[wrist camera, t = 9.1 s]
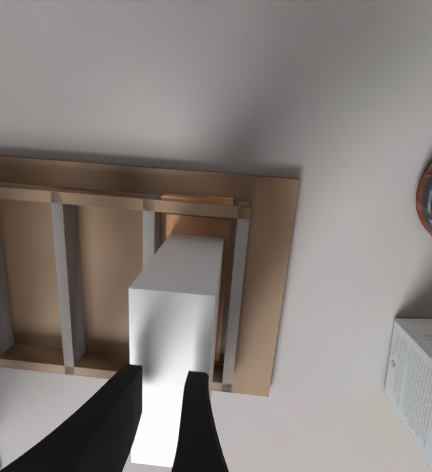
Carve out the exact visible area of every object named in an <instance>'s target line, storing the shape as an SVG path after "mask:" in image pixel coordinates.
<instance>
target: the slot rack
mask: <svg viewBox="0 0 432 472" xmlns="http://www.w3.org/2000/svg"><path fill="white" fill-rule="evenodd" d="M299 185H300V180H299V179H293V178H281V177H268V176H255V175H242V174H229V173H216V172H204V171H191V170H178V169H165V168H152V167H139V166H126V165H114V164H101V163H88V162H75V161H62V160H49V159H37V158H24V157H11V156H0V367H5V368H14V369H23V370H32V371H41V372H50V373H59V374H68V375H77V376H86V377H95V378H104V379H110V378H111V377H112V376H113V375H114V374H115V373H116V372H117V371H118V370H119V369H120V368H121V367H122V366H123V365H125V364H130V349H129V287H130V286H131V284H132V283H133V282H134V280H135V279H136V278H137V277H138V275H139V274H140V273H141V271H142V270H143V269H144V268H145V266H146V265H147V264H148V262H149V261H150V260H151V258H152V257H153V256H154V255H155V253H156V252H157V251H158V249H159V248H160V247H161V246H162V244H163V243H164V242H165V240H166V239H167V238H168V237H169V235H170V234H171V233H172V234H184V235H196V236H208V237H220V238H224V246H223V259H222V272H221V285H220V298H219V312H218V325H217V338H216V351H215V363H214V372H213V381H212V390H213V391H222V392H231V393H240V394H249V395H258V396H267V397H268V396H269V389H270V383H271V376H272V369H273V362H274V355H275V348H276V342H277V335H278V328H279V321H280V314H281V308H282V301H283V294H284V287H285V280H286V273H287V267H288V260H289V253H290V246H291V239H292V232H293V226H294V219H295V212H296V205H297V198H298V191H299Z"/></svg>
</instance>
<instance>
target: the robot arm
mask: <svg viewBox="0 0 432 472" xmlns="http://www.w3.org/2000/svg"><path fill="white" fill-rule="evenodd" d="M141 415H142V366H141V365H132V364H125V365H123V366H122V367H121V368H120V369H119V370H118V371H117V372H116V373H115V374H114V375H113V376H112V377H111V378H110V379H109V380H108V381H107V382H106V383H105V384H104V385H103V386H102V387H101V388H100V389H99V390H98V391H97V392H96V393H95V394H94V395H93V396H92V397H91V398H90V399H89V400H88V401H87V402H86V403H85V404H83V405H82V406H81V407H80V408H79V409H78V410H77V411H76V412H75V413H74V414H72V415H71V416H70V417H69V418H68V419H67V420H65V421H64V422H63V423H62V424H61V425H60V426H58V427H57V428H56V429H55V430H54V431H53V432H51V433H50V434H49V435H48V436H46V437H45V438H44V439H43V440H41V441H40V442H39V443H38V444H36V445H35V446H34V447H32V448H31V449H30V450H28V451H27V452H26V453H24V454H23V455H22V456H20V457H19V458H18V459H16V460H15V461H13V462H12V463H10V464H9V465H8V466H6V467H5V468H3V469H2V470H0V472H122V471H123V468H124V466H125V463H126V460H127V458H128V455H129V453H130V450H131V448H132V445H133V443H134V439H135V436H136V432H137V429H138V425H139V422H140V418H141ZM171 472H229V471H228V468H227V465H226V462H225V459H224V456H223V453H222V449H221V446H220V442H219V439H218V435H217V431H216V427H215V423H214V418H213V414H212V409H211V403H210V396H209V375H208V374H207V373H206V372H197V371H189V372H188V375H187V378H186V382H185V385H184V392H183V401H182V410H181V418H180V427H179V436H178V443H177V449H176V454H175V458H174V463H173V467H172V471H171Z"/></svg>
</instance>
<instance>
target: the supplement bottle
mask: <svg viewBox="0 0 432 472" xmlns="http://www.w3.org/2000/svg"><path fill="white" fill-rule="evenodd" d="M416 210H417V213H418V215H419V219H420V221H421V223H422V225H423V226H424V228H425V229H426V230H427V231H428V232H429V233H430V234H431V235H432V163H431V164H430V165H429V166H428V167H427V168H426V171H425V173H424V174H423V176H422V178H421V181H420V184H419V186H418V190H417V195H416Z"/></svg>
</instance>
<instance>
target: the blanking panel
mask: <svg viewBox="0 0 432 472" xmlns="http://www.w3.org/2000/svg"><path fill="white" fill-rule="evenodd" d="M223 246H224V238H220V237H208V236H196V235H184V234H172V233H171V234H170V235H169V237H168V238H167V239H166V240H165V242H164V243H163V244H162V246H161V247H160V248H159V249H158V251H157V252H156V253H155V255H154V256H153V257H152V258H151V260H150V261H149V262H148V264H147V265H146V266H145V268H144V269H143V270H142V271H141V273H140V274H139V275H138V277H137V278H136V279H135V280H134V282H133V283H132V284H131V286H130V287H129V349H130V364H132V365H141V366H142V415H141V418H140V422H139V425H138V429H137V432H136V436H135V439H134V443H133V445H132V448H131V462H132V463H140V464H149V465H157V466H165V467H173V463H174V458H175V454H176V449H177V443H178V436H179V427H180V418H181V410H182V401H183V392H184V385H185V382H186V378H187V375H188V372H189V371H197V372H206V373H207V374H208V375H209V396H210V399H211V390H212V381H213V372H214V363H215V351H216V338H217V325H218V312H219V298H220V285H221V272H222V259H223Z"/></svg>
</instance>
